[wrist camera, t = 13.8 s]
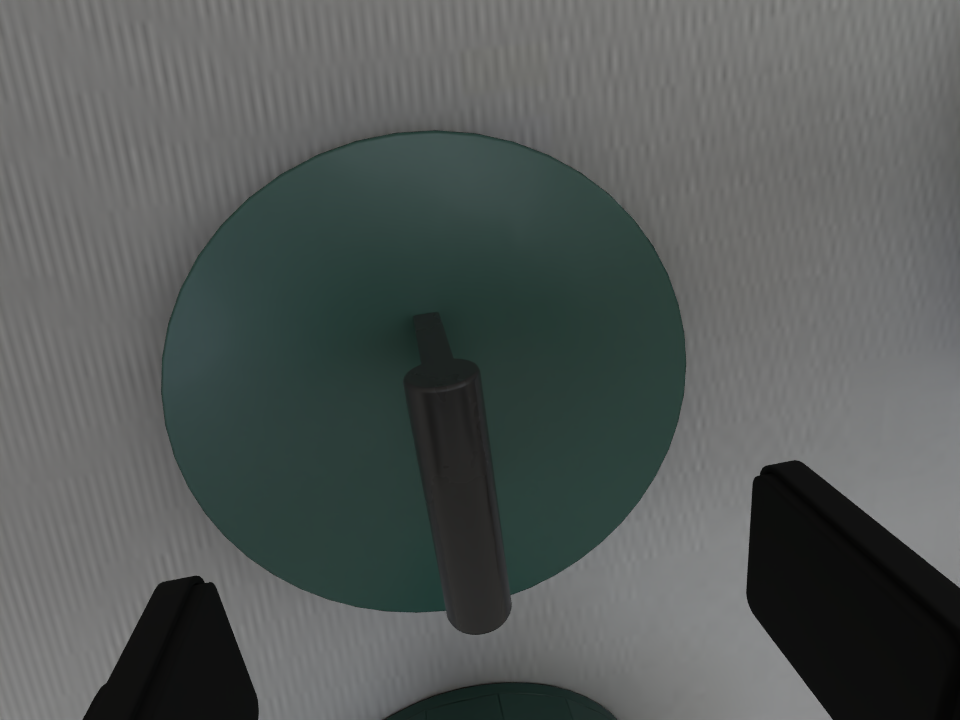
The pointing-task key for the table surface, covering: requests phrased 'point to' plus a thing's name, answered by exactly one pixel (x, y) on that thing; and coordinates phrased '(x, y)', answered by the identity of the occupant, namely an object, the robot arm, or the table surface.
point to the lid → (424, 373)
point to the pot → (506, 704)
